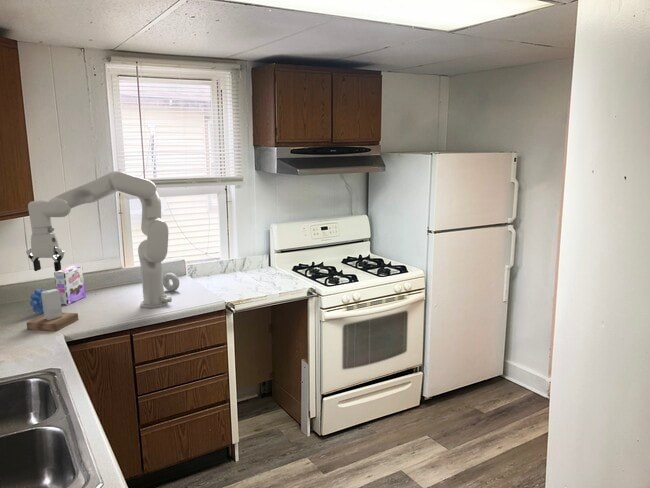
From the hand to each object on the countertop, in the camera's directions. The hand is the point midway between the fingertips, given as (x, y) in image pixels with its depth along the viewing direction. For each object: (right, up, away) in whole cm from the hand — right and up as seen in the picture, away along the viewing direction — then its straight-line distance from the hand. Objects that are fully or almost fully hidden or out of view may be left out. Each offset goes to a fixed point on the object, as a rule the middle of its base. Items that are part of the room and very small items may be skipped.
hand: (47, 270), depth 220 cm
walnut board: (0, -24, +5) cm, 24 cm away
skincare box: (0, -21, +4) cm, 21 cm away
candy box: (-8, -17, +38) cm, 42 cm away
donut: (+37, -14, +52) cm, 65 cm away
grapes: (-12, -21, +19) cm, 30 cm away
